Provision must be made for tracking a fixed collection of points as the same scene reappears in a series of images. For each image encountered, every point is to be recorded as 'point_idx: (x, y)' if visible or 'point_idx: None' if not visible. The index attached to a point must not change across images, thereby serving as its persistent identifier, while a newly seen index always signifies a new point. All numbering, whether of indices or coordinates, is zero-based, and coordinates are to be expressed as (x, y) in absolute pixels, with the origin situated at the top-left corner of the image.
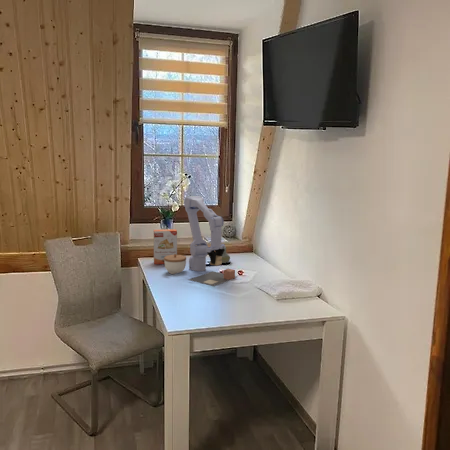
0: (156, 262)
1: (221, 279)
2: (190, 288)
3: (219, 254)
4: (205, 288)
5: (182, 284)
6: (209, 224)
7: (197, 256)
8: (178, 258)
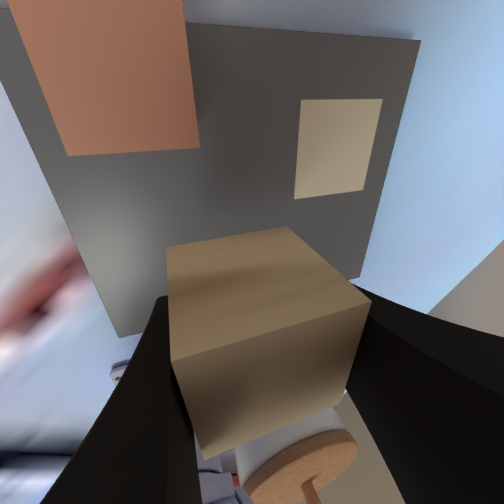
0: (236, 482)
1: (234, 125)
2: (441, 177)
3: (181, 448)
4: (425, 101)
5: (396, 252)
6: None
7: (223, 486)
8: (323, 461)
